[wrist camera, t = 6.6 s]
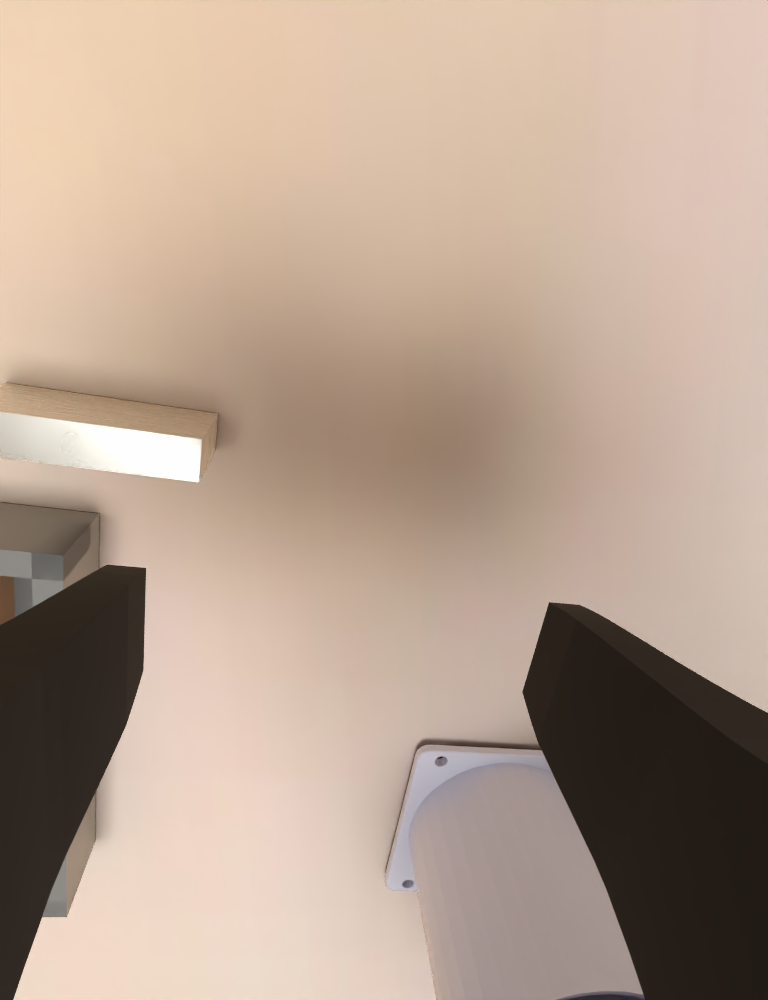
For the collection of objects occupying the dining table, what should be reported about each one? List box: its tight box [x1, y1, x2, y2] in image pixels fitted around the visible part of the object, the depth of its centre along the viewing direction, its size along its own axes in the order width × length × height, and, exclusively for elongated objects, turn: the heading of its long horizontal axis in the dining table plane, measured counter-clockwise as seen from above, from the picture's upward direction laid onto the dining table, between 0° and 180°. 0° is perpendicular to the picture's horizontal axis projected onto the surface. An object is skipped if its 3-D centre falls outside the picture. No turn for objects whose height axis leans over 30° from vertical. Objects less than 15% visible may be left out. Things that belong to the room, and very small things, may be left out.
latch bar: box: [0, 383, 218, 482], centre depth 16 cm, size 6×1×3 cm, turn 80°
